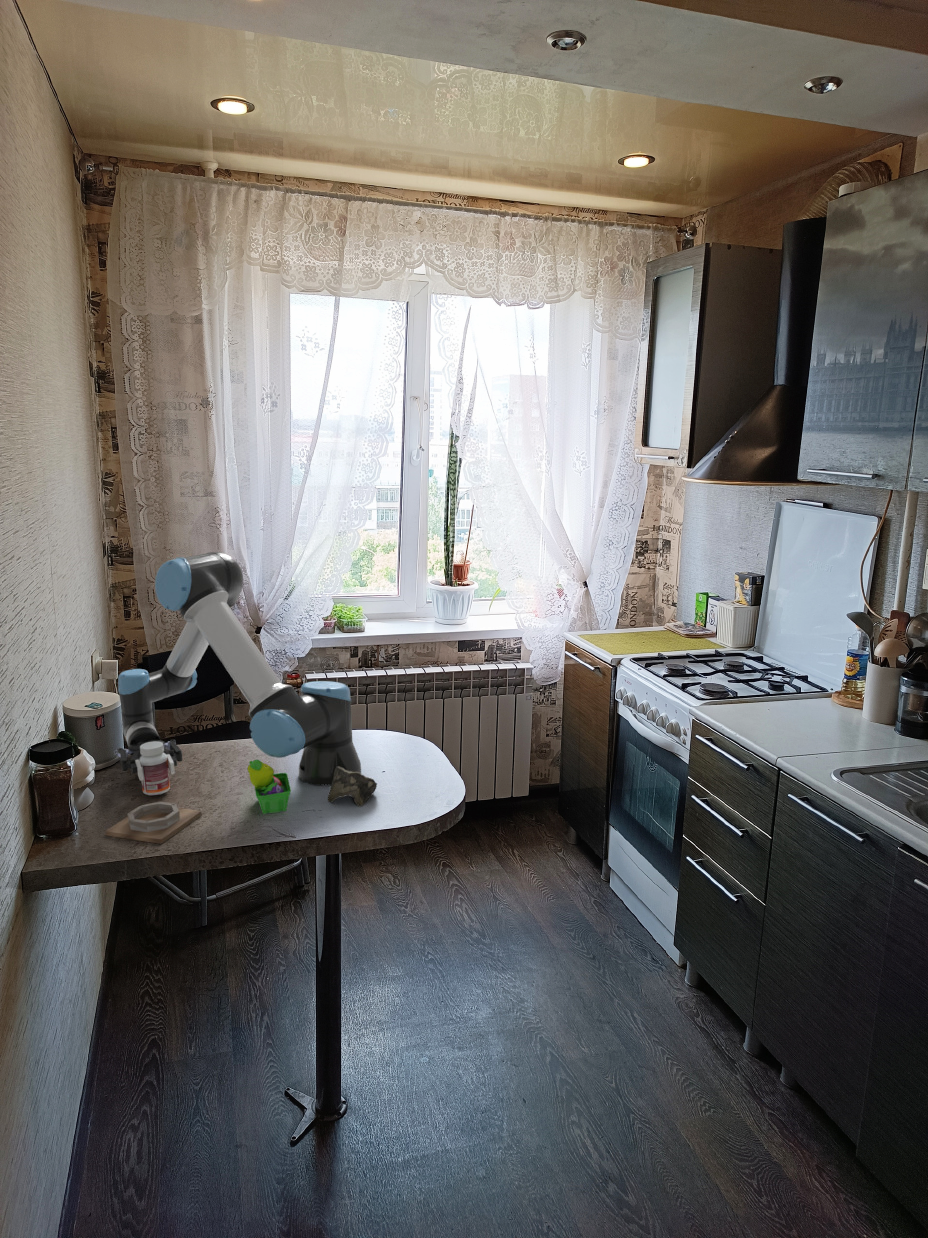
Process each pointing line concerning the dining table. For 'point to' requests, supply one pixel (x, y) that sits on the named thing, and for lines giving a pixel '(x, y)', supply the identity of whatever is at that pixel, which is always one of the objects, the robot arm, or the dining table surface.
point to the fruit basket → (269, 787)
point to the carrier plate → (154, 834)
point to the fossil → (351, 786)
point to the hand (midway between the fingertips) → (157, 771)
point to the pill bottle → (154, 768)
